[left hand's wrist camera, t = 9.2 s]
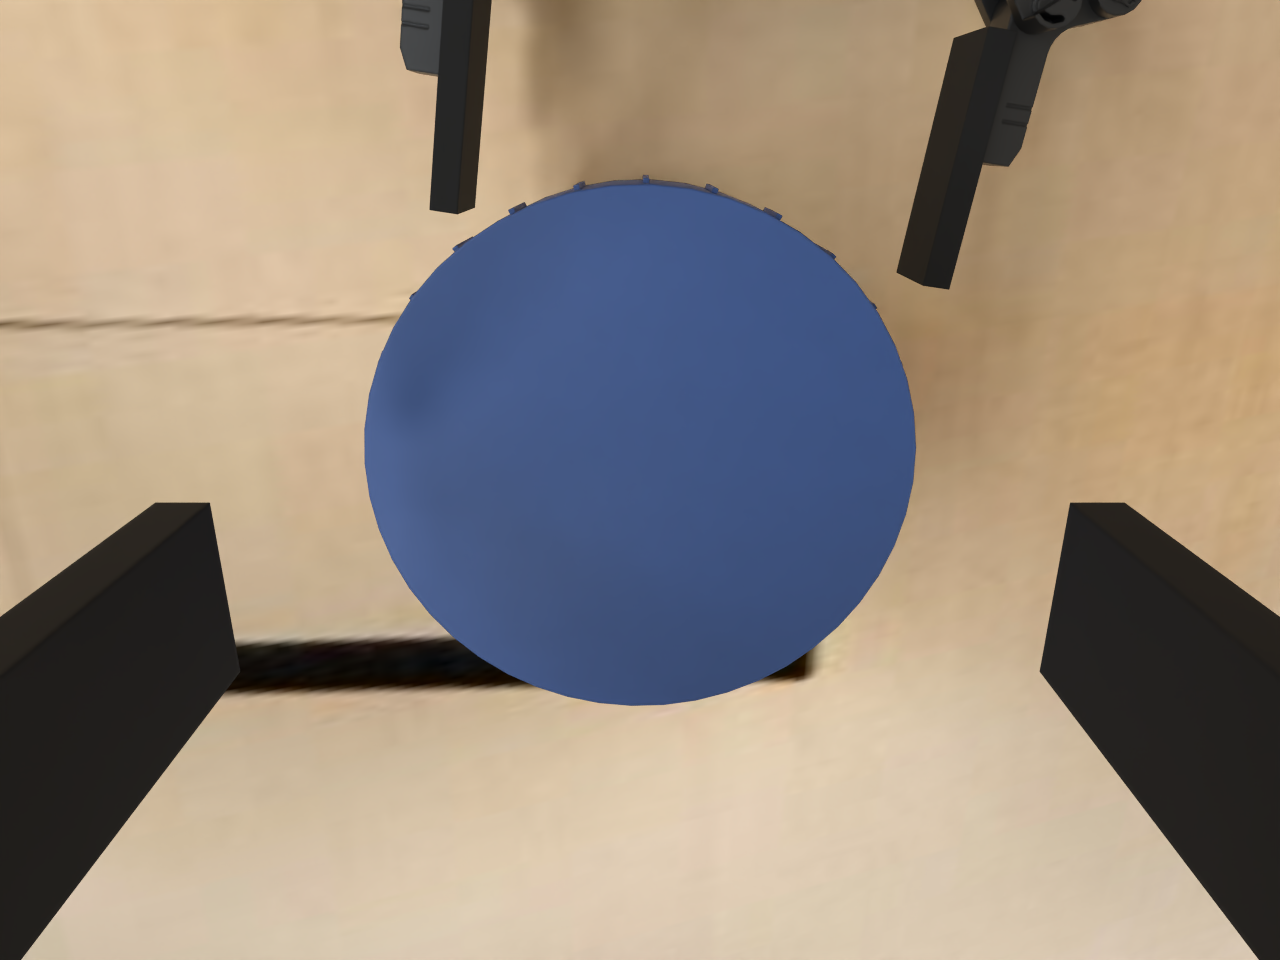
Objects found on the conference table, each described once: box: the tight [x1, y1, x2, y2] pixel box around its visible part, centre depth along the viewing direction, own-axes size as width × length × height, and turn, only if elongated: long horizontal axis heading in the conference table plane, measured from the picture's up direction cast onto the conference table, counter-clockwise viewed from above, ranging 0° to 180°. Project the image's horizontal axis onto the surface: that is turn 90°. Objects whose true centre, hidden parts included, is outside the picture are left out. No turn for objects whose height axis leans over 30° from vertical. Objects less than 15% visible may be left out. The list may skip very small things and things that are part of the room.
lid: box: [365, 175, 916, 706], centre depth 19 cm, size 11×11×2 cm
